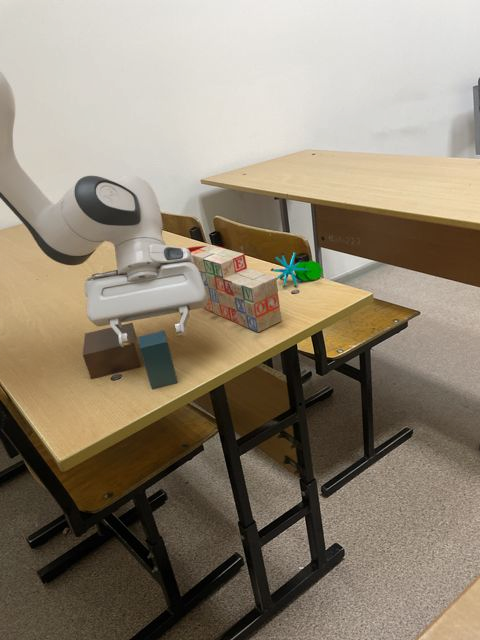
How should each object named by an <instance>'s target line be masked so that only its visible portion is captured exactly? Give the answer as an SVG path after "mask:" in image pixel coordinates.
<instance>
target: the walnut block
mask: <svg viewBox="0 0 480 640" xmlns="http://www.w3.org/2000/svg"><path fill="white" fill-rule="evenodd" d="M121 325H122V328H120V329H119V328H118V329H119V330H120V332H121V333H122V334H123V333H127V334H128V335H129V336H130V345H129V346H124V347H121V346H120V344H119V337H118V335H117V333H116V332H115V331H114V330H113V328H112V327H111V326H110V327H107V328H103V329H99V330H98V329H97V330H95V331H90V332H86V333H85V332H84V340H83V348H82V358H83V360H84V363H85V366H86V369H87V371H88V374H89V377H90V380H92V379H98V378H101V377H106V376H110V375H113V374H117V373H121V372H125V371H129V370H133V369H137V368H141V367H142V361H141V351H140V346H139V339H138V336H137V334H136V333H137V332H136V330H135V326H134V323H133V322H128V323H123V324H121Z"/></svg>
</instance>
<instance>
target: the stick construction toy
mask: <svg viewBox="0 0 480 640" xmlns="http://www.w3.org/2000/svg"><path fill="white" fill-rule="evenodd" d="M284 254H285V253H284V252H282V253H281V254H280V256H281V259H280V258H279V257H277V256H276V257H275V258H274V261H277V262H278V263H279V264H280V265H282V266H283V267H284V268H271V269H270V272H276V273H280V274H279V275H278V276H277V277H276V280H277V281H278V280H279V279H280V280H282V279H283V283H282V288H283V289H285V288H286V284H287V281H288V278H289V276H290V277H291V279H292V281H293V283H294V288H296V287H298V282H300V283H303V282H309V281H316V280H317V279H320V277H321V276H322V274H323V268H322V266H321V265H320V264H319V263H318V262H317V261H316V260H315V261H314V260H308V261H303V260H302V259H301V260H300V261H298V262H296V263H295V257H296V252H293V253H292V257H291V259H290V262H289V264H288V263H287V261H286V258H285V255H284ZM294 263H295V264H294ZM297 281H298V282H297Z"/></svg>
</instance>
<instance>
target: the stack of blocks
mask: <svg viewBox="0 0 480 640" xmlns="http://www.w3.org/2000/svg"><path fill="white" fill-rule="evenodd" d="M205 246H206V247H204V248H201V249H200V250H196V251H193V252H191V254H192V257H193V260H194V265H195V266H196V267H197V268H198V270H199V272H200V275H201V277H202V280H203V283H204V286H205V290H206V294H207V298H208V303H207V305H206V306H205V307H204V308H203V309H204V310H205V311H208V312H210V313H213V314H215V315H217V316H219V317H221V318H225V319H227V320H229V321H232V322H234V323H236V324H239V325H240V326H243V327H244V328H247V329H249V330H252V331H254V332H256V333H260V332H262V331H263V330H266V329H268V328H270V327H272V326H274V325H276V324H278V323H280V322H282V314H281V313H282V312H281V307H280V305H281V304H280V300H279V299H280V298H279V293H278V292H279V288H278V287H279V286H278V279H277V280H276V278H277V277H276V276H273V275H270V274H266V273H264V272H261V271H258V270H254V269H252V268H248V265H247V260H246V255H245V253H243V252H238V251H234V250H231V249H227V248H226V249H224V248H225V247H223V248H220V247H221V246H219V247H217V246H218V245H214V244H210V245H205Z"/></svg>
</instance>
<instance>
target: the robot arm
mask: <svg viewBox="0 0 480 640" xmlns="http://www.w3.org/2000/svg"><path fill="white" fill-rule="evenodd" d="M15 120H16V100H15V94H14V91H13V88H12V85H11V84H10V82H9V80H8V79H7V77H6V75H4V73H3V72H2V71H1V70H0V200H1V201H2V202H3V203H4V204H5V205H6V206H7V207H8V208H9V209H10V210H11V212H13V214H14V215H15V216H16V217H17V218H18V220H20V221H21V222H22V224H23V225H24V226H25V227H26V229H27V230H28V232H29V233H30V234H31V236H32V237H33V239H34V241H35V243H36V244H37V246H38V247H39V249H40V250H41V251H42V252H43V254H44V255H46V257H48V258H50V259H51V260H52V261H55V262H56V263H59V264H62V265H65V266H78V265H82V264H84V263H85V262H87V261H88V260H89V258H90V257H91V256H92V255H93V254H94V253H95V252H96V250H98V248H99V247H100V246H102V245H103V244H104V243H105V242H108V243H111V244H113V247H114V253H115V262H116V269H114V270H109V271H105V272H101V273H99V272H97V273H93V274H91V276H90V277H88V278H87V279H86V280H85V281H84V285H83V286H84V294H85V297H86V316H87V319H88V320H89V321H90V323H92V324H93V325H94V326H96V327H97V328H99V327H105V326H110V328H111V327H112V328H113V330H114V331H115V332H116V333H117V335H118V337H119V344H120V346H121V347H124V346H129V345H130V336H129V335H128V334H127V333H123V334H122V333H121V332H120V330H119V329H120V328H122V325H123V324H122V323H126V322H128V323H129V322H132V321H138V320H144V319H150V318H155V317H160V316H161V317H162V316H166V315H167V316H168V315H171V314H177V313H179V314H180V320H179V322H178V323H175V324H174V329H175V335H176V337H183V336H187V331H186V326H187V324H188V321H189V319H190V317H191V316H190V315H191V314H190V311H194V310H199V309H204V307H205V306H206V305H207V303H208V298H207V294H206V290H205V286H204V283H203V280H202V277H201V275H200V272H199V270H198V268H197V267H196V266H195V265H194V260H193V257H192V254H191V253H190V251H189V250H188V249H187V248H188V247H181V246H172V245H167V244H166V242H165V240H164V238H163V230H164V226H163V225H164V223H163V218H162V213H161V208H160V204H159V200H158V197H157V195H156V192H155V190H154V188H153V187H152V185H151V184H150V183H149V182H148V181H147V180H146V179H143V178H141V177H138V176H135V175H123V176H120V177H118V178H116V179H108V178H106V177H102V176H99V175H86V176H83V177H81V178H79V179H78V180H77V181H76V182H74V184H73V185H72V186H71V187H70V188H69V189H68V190H67V191H66V192H65V193H64V194H63V196H62V197H61V198H60V199H59V200H58V201H57V202H56V203H53V202H52V201H51V200H50V199H49V198H48V197H47V196H46V194H45V193H44V192H43V191H42V190H41V188H40V187H39V186H38V185H37V183H35V181H34V180H33V179H32V178H31V177H30V176H29V174H28V173H27V172H26V171H25V170H24V169H23V167H22V166H21V165H20V163H19V161H18V159H17V156H16V154H15V153H16V152H15V149H14V126H15ZM118 328H119V329H118Z"/></svg>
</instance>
